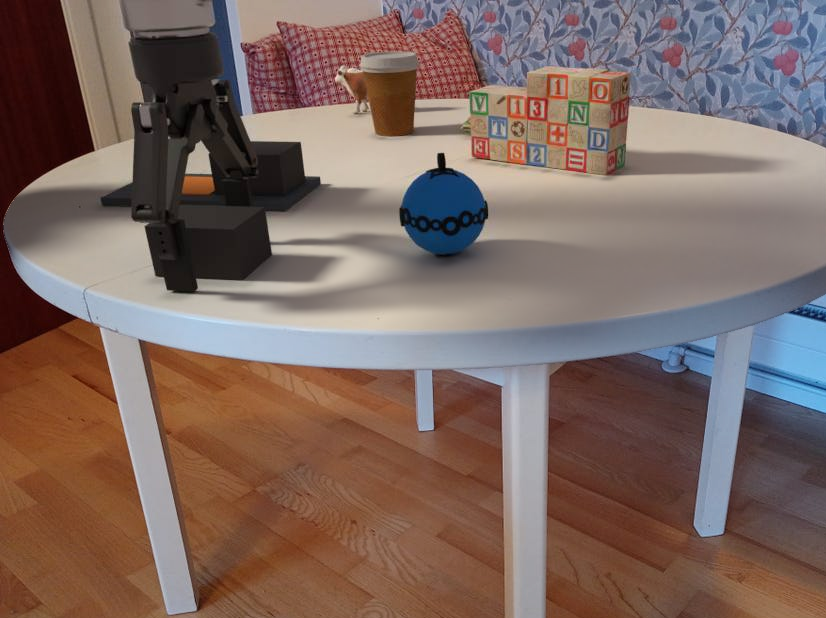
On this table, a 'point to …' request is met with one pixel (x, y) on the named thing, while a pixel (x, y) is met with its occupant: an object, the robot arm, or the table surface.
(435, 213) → the ornament
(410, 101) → the disposable coffee cup
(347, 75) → the bull figurine
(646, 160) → the table surface
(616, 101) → the stack of blocks
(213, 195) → the pad base
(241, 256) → the loose block
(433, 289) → the table surface
